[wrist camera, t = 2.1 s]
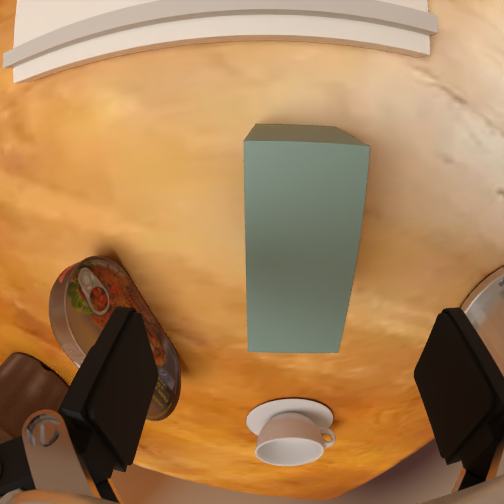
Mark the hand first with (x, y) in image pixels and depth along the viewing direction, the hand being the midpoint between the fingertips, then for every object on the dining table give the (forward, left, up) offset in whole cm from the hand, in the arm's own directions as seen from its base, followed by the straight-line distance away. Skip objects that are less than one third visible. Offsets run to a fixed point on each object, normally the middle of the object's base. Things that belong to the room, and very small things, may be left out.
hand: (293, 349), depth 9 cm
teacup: (-2, +25, -14) cm, 29 cm away
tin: (+12, +10, -14) cm, 21 cm away
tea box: (-1, 0, -14) cm, 14 cm away
